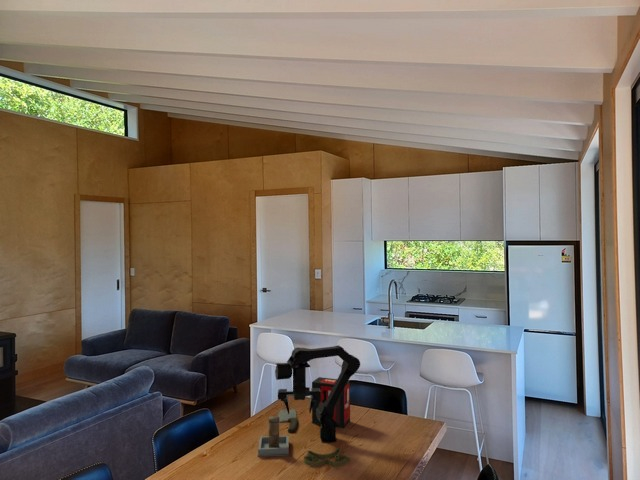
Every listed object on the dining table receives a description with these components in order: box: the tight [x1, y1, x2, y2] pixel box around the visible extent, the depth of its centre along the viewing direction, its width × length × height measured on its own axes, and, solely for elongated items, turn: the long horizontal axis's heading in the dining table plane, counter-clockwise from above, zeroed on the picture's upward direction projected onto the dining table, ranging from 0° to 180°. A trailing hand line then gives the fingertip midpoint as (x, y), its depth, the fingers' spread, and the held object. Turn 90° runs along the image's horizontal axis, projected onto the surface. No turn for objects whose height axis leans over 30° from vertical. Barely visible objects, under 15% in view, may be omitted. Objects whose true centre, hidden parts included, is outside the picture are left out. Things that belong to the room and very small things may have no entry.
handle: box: [268, 415, 280, 448], centre depth 189 cm, size 5×5×12 cm
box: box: [257, 435, 290, 458], centre depth 189 cm, size 12×12×3 cm
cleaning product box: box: [311, 376, 351, 429], centre depth 218 cm, size 16×9×20 cm, turn 67°
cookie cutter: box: [303, 447, 351, 468], centre depth 180 cm, size 18×12×2 cm, turn 100°
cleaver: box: [277, 408, 298, 434], centre depth 220 cm, size 29×10×2 cm, turn 7°
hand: (299, 413), depth 195 cm, fingers open, 9 cm apart
